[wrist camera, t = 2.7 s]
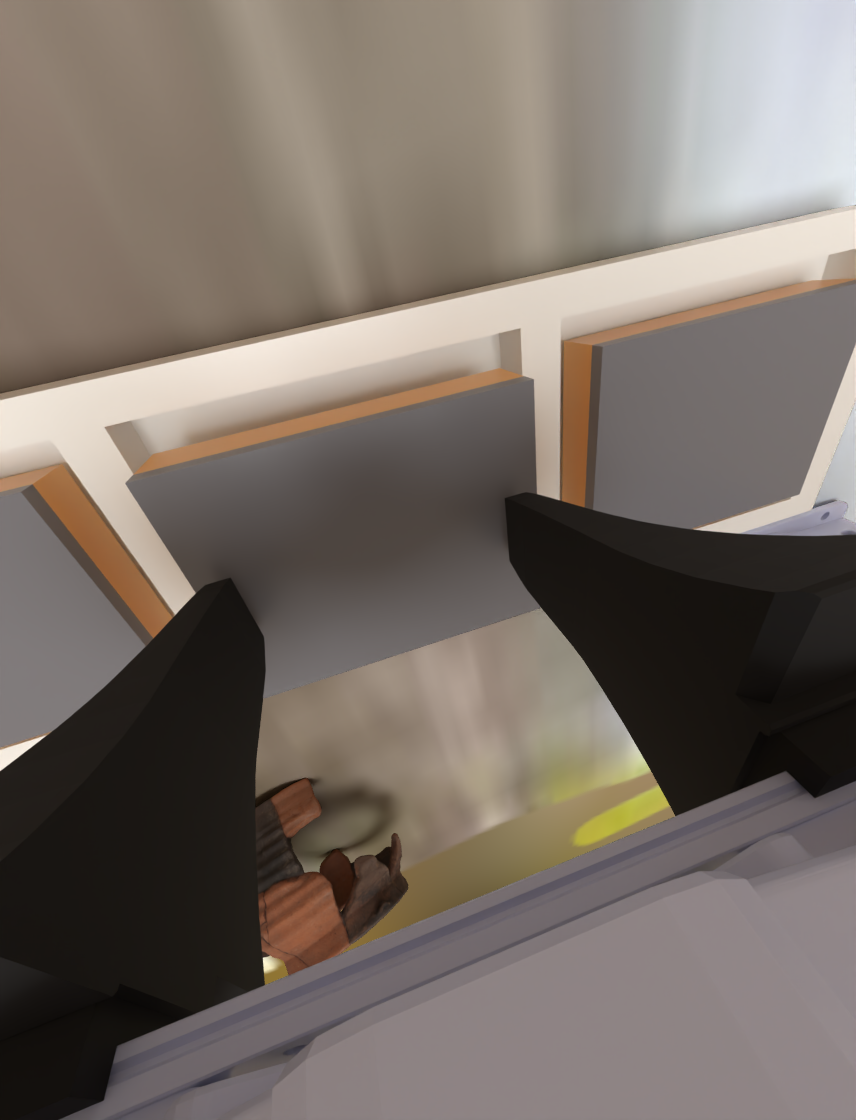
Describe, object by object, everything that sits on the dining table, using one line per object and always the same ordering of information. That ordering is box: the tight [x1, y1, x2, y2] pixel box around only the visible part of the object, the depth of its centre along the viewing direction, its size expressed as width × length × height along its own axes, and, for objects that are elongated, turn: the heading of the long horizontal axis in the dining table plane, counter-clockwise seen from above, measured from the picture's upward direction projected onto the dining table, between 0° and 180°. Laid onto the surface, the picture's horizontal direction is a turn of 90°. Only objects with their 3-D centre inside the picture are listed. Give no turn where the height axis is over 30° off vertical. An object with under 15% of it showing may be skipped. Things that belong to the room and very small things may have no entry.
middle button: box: [125, 368, 540, 698], centre depth 12 cm, size 9×7×2 cm
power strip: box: [0, 205, 856, 771], centre depth 14 cm, size 45×11×3 cm, turn 100°
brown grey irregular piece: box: [255, 778, 408, 975], centre depth 24 cm, size 12×10×8 cm
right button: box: [562, 278, 856, 529], centre depth 15 cm, size 9×7×2 cm
